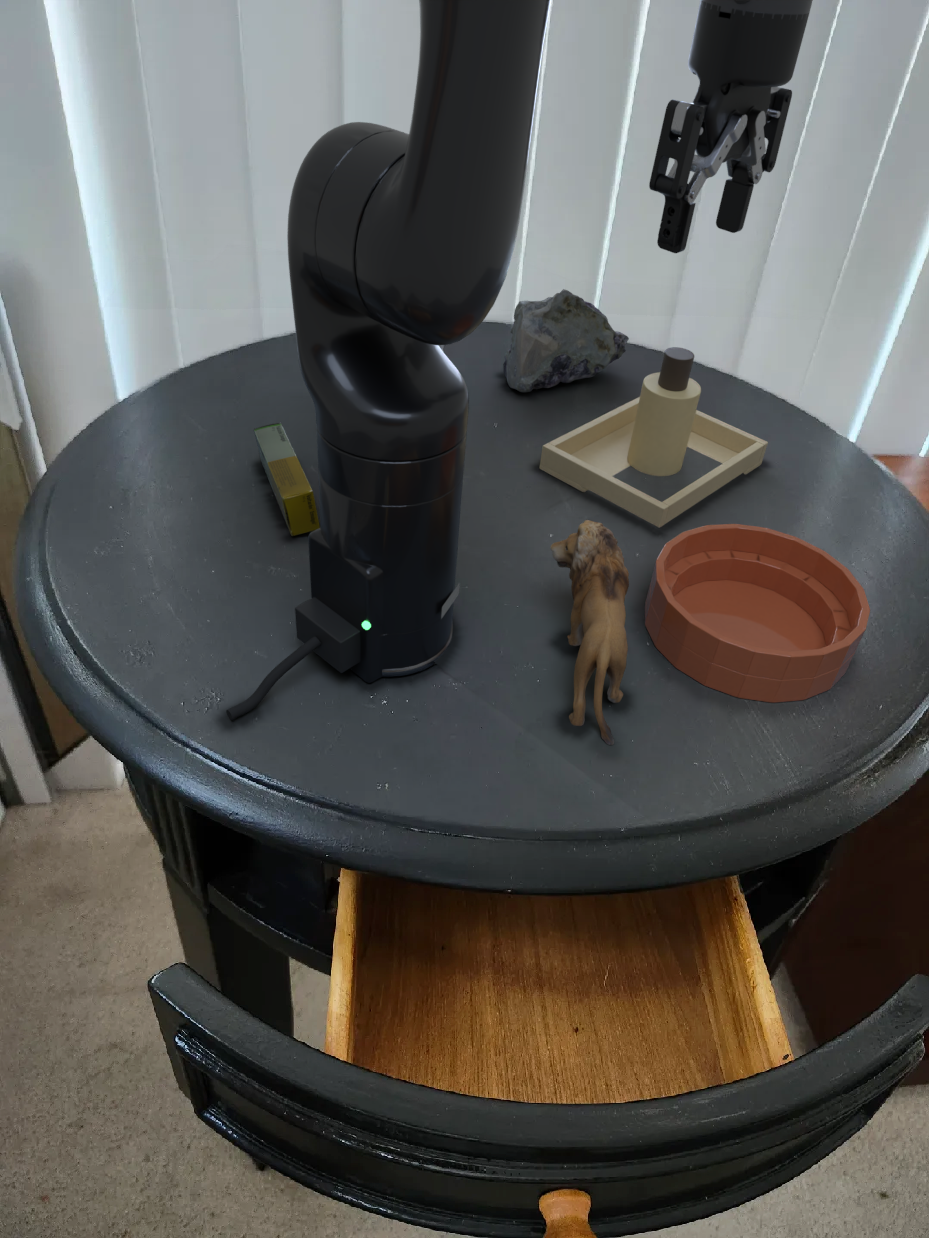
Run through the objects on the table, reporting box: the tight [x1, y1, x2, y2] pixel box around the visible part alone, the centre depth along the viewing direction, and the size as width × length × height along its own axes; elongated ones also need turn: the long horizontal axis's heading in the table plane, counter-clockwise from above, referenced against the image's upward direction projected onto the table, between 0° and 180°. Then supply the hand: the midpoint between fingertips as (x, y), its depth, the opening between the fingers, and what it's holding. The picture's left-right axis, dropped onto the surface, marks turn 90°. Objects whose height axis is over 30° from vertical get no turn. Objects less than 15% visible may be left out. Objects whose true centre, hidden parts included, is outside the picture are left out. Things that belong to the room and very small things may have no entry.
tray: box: [538, 396, 769, 528], centre depth 87 cm, size 18×14×2 cm
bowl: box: [644, 523, 871, 704], centre depth 69 cm, size 15×15×5 cm
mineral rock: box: [502, 288, 630, 393], centre depth 97 cm, size 13×11×10 cm
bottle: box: [627, 346, 702, 477], centre depth 84 cm, size 5×5×11 cm
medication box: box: [253, 422, 320, 537], centre depth 79 cm, size 12×3×4 cm, turn 21°
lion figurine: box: [550, 519, 630, 746], centre depth 63 cm, size 15×5×9 cm, turn 6°
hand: (699, 239), depth 74 cm, fingers open, 8 cm apart
